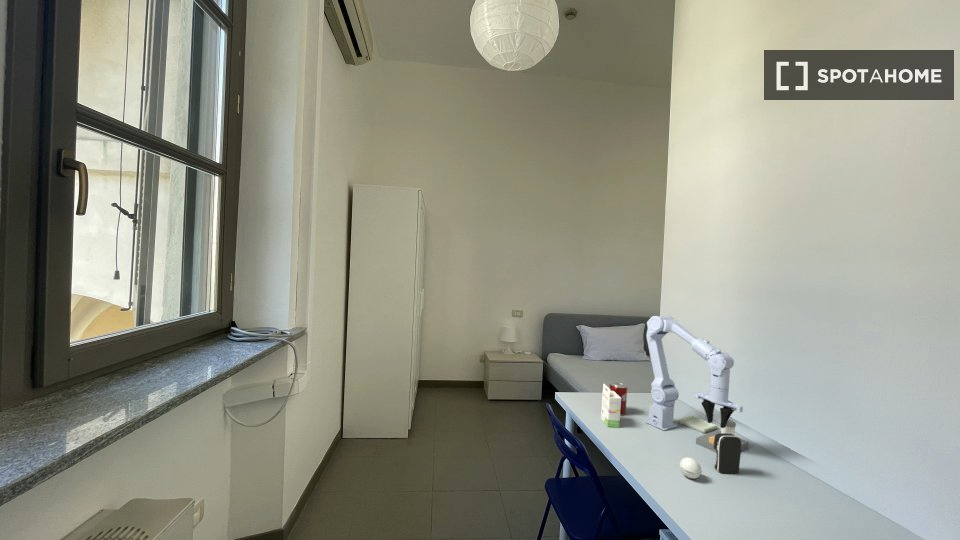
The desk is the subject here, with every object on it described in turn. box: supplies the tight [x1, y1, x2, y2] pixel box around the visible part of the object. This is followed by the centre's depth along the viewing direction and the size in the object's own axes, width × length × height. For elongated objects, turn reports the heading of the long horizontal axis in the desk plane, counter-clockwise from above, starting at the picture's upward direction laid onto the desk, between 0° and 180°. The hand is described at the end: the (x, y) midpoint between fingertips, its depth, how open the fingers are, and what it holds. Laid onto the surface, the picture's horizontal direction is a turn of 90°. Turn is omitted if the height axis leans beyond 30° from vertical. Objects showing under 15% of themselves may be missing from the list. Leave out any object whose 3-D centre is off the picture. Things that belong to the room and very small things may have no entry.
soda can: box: [608, 382, 628, 416], centre depth 152 cm, size 7×7×12 cm
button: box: [709, 436, 715, 444], centre depth 125 cm, size 3×3×2 cm
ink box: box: [600, 383, 621, 429], centre depth 141 cm, size 9×5×15 cm, turn 179°
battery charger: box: [714, 433, 742, 474], centre depth 111 cm, size 7×4×11 cm, turn 94°
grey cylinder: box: [720, 419, 737, 436], centre depth 130 cm, size 4×4×8 cm
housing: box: [695, 429, 749, 453], centre depth 128 cm, size 16×10×2 cm, turn 121°
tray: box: [678, 415, 718, 435], centre depth 143 cm, size 10×10×2 cm
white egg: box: [679, 456, 708, 479], centre depth 105 cm, size 8×6×6 cm
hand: (716, 424), depth 125 cm, fingers open, 4 cm apart
